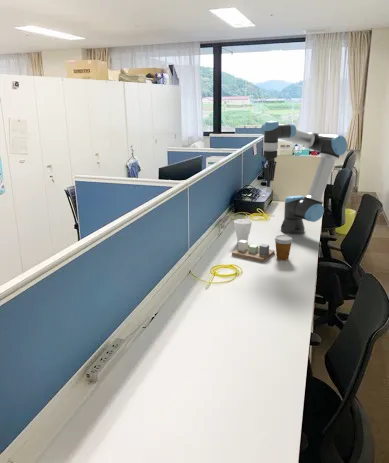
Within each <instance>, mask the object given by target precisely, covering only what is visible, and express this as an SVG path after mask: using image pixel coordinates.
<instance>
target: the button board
mask: <svg viewBox="0 0 389 463" xmlns="http://www.w3.org/2000/svg"><path fill="white" fill-rule="evenodd" d="M250 245H251V244H250ZM250 245H249V244H248V249H247V250H245V251H241V250H238V248H236V249H235V250H233V251H232V252H231V256H232V257H237V258H242V259H246V260H249V261H255V262H258V263H265V262H266V261H267V260H268V259H270V258H271V257H272V256H275V252H276V249H275V250H273V249H270V248H269V254H268V255H266V256H264V255H260V254H259V246H258V252H257V253H256V254H255V253H250V252H249V246H250Z"/></svg>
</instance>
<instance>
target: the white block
mask: <svg viewBox="0 0 389 463" xmlns="http://www.w3.org/2000/svg"><path fill="white" fill-rule="evenodd" d="M248 245H249V240H248V241H246V240H240V241H239V242H238V243H237V246H238V248H237V249H238V250H241V251H245V250H247V249H248Z"/></svg>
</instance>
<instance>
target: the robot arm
mask: <svg viewBox="0 0 389 463" xmlns="http://www.w3.org/2000/svg"><path fill="white" fill-rule="evenodd" d="M260 133H261V135H262V136H263V144H262V145H263V154H262V155H263V156H262V157H263V158H265V161H264V162H265V163H263V164H262V166H263V176H264V178H263V179H264V182H266V187H265V192H266V193H272V192H273V189H272V188H273V182H274V179H275V175H276V174H275V173H276V166H277V161H275V159H276V158H277V157H278V148H279V143H278V142H279V140H282V141H286V142H288V143H289V142H290V143H294V144H298V145H301V146H303V147H304V148H307V149H308V150H309V149H310V150H312V151H314V152H318V153H319V156H320V159H319V163H318V165H317V167H316V171H315V172H314V177H313V179H312V181H311V184H310V187H309V190H308V193H307V195H305V196H304V195H289V196H287V197H285V200H284V216H283V221H282V224H281V226H280V231H281V232H283V233H285V234H289V235H298V234H303V233H304V232H305V224H304V220H305V221H307V222H312V223H315V222H318V221H319V220H321V218H322V217H323V215H324V212H325V209H324V205H323V199H322V198H323V195H324V193H325V190H326V187H327V184H328V182H329V179H330V176H331V173H332V170H333V168H334V165H335V162H336V161H339V158H340V156H343V155H344V154H345V153H346V151H347V149H348V142H347V139H346V137H345V136H344V135H340V134H335V133H334V134H333V133H320V132H319V133H318V132H317V133H316V132H304V131H301V130H298V129H297V127H296V125H295V124H294V123H279V121H276V120H270V121H269V120H267V121H265V122H264V123H263V124H261V127H260Z"/></svg>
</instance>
